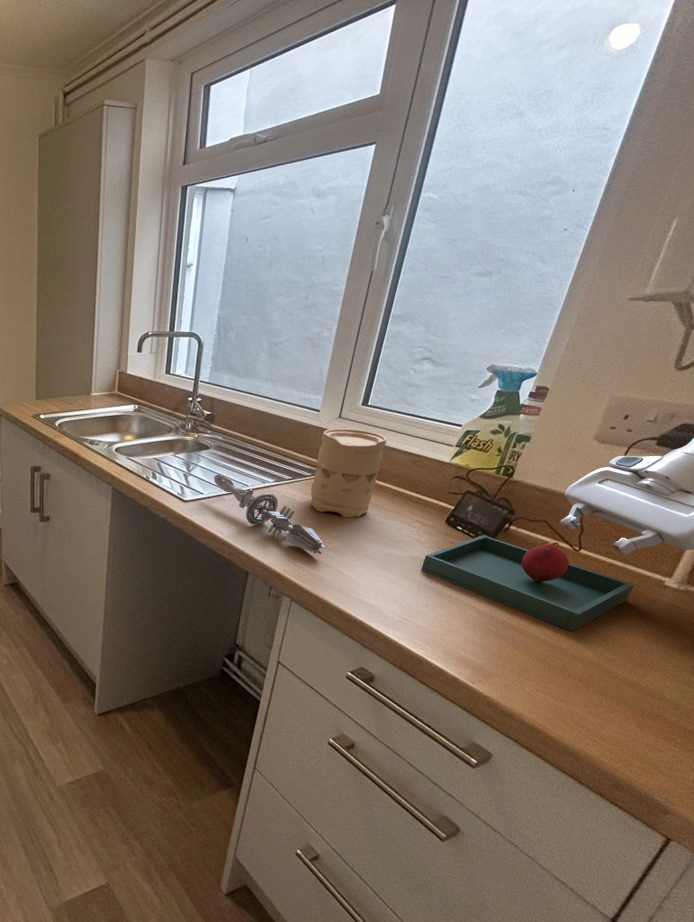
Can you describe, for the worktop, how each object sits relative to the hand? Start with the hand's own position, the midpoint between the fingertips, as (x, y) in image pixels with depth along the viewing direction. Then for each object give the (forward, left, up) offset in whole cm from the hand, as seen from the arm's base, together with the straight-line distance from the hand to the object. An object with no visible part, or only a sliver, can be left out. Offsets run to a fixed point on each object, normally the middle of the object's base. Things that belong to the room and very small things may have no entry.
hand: (590, 537), depth 90 cm
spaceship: (+43, +28, -10) cm, 52 cm away
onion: (+3, +4, -9) cm, 11 cm away
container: (+42, +2, -10) cm, 43 cm away
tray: (+4, +7, -10) cm, 13 cm away
